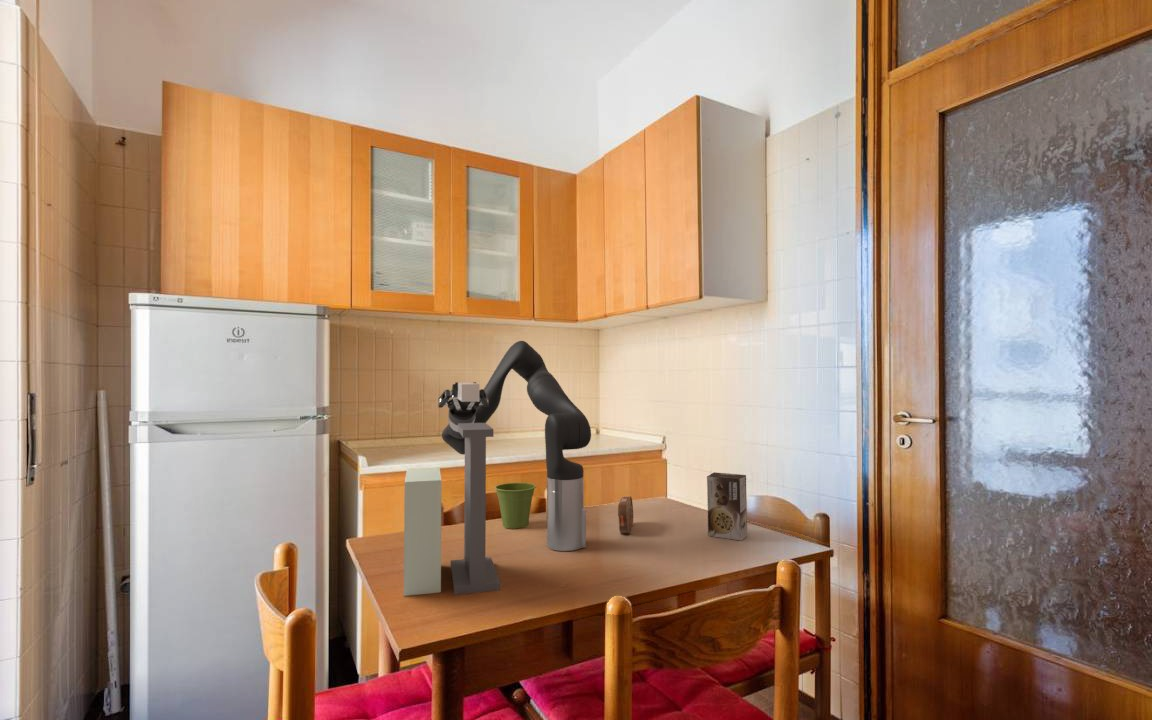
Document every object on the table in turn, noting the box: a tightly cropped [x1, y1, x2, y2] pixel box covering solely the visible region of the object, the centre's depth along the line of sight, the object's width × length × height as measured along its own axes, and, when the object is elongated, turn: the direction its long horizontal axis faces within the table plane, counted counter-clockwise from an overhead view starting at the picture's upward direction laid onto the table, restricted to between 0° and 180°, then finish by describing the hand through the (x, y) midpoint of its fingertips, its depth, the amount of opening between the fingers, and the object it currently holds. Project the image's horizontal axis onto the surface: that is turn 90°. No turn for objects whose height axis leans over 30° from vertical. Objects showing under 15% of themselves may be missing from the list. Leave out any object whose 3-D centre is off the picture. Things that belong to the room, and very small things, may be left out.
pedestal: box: [403, 466, 443, 597], centre depth 115 cm, size 7×16×22 cm, turn 15°
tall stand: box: [450, 422, 501, 596], centre depth 116 cm, size 9×16×32 cm, turn 15°
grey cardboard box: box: [706, 472, 748, 541], centre depth 147 cm, size 9×6×16 cm
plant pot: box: [494, 482, 537, 530], centre depth 156 cm, size 12×12×11 cm
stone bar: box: [457, 382, 480, 402], centre depth 137 cm, size 4×22×4 cm, turn 15°
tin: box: [617, 496, 634, 535], centre depth 153 cm, size 15×3×8 cm, turn 168°
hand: (465, 385), depth 141 cm, fingers closed on stone bar, 4 cm apart
